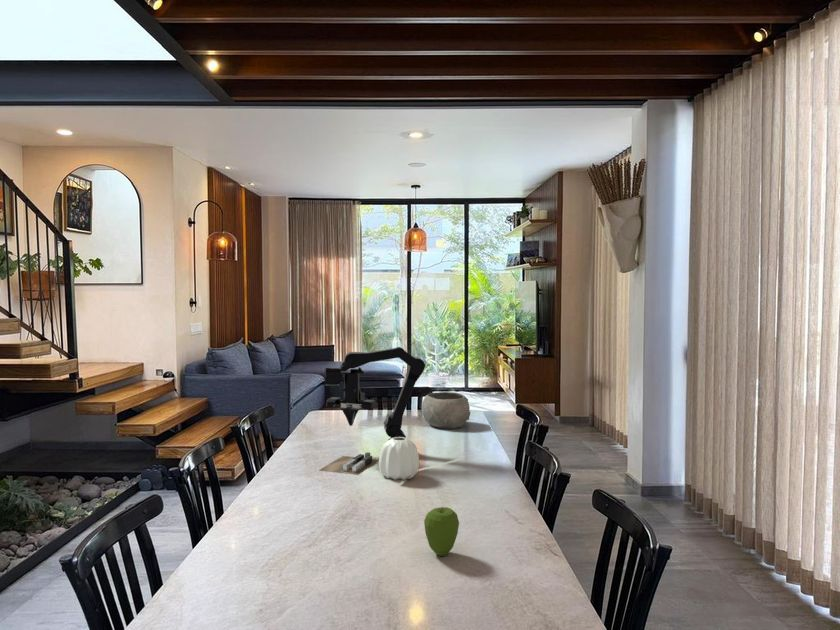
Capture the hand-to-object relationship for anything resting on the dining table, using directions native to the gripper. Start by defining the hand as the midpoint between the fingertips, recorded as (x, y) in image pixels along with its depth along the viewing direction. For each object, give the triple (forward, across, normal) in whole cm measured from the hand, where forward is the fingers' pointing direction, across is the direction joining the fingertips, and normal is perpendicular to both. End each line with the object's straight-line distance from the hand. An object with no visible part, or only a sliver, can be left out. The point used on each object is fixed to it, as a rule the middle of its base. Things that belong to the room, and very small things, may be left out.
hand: (351, 425), depth 229 cm
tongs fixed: (+11, -10, +12) cm, 19 cm away
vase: (+12, -26, +18) cm, 34 cm away
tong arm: (+11, -7, +14) cm, 19 cm away
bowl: (+12, -20, -66) cm, 70 cm away
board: (+12, -6, +13) cm, 19 cm away
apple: (+12, -56, +72) cm, 92 cm away
